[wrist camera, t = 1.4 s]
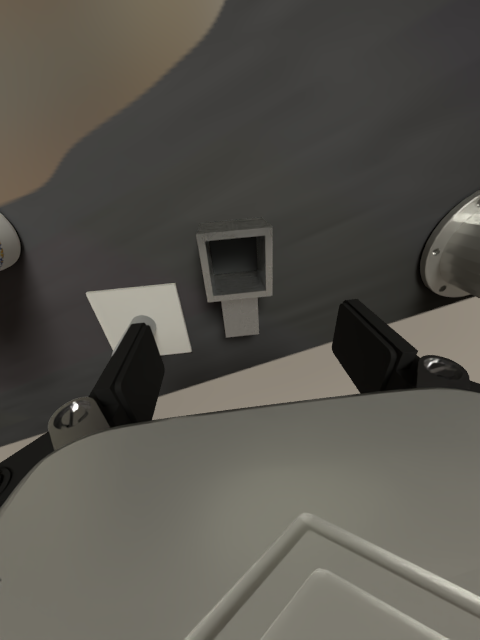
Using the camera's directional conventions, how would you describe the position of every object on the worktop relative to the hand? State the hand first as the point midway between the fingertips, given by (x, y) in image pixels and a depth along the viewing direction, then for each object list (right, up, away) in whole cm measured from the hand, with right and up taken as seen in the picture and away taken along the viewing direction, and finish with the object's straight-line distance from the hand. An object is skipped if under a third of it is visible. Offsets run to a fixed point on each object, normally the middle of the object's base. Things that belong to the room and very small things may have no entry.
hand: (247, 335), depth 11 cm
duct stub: (-12, 0, +17) cm, 21 cm away
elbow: (-1, +6, +15) cm, 16 cm away
